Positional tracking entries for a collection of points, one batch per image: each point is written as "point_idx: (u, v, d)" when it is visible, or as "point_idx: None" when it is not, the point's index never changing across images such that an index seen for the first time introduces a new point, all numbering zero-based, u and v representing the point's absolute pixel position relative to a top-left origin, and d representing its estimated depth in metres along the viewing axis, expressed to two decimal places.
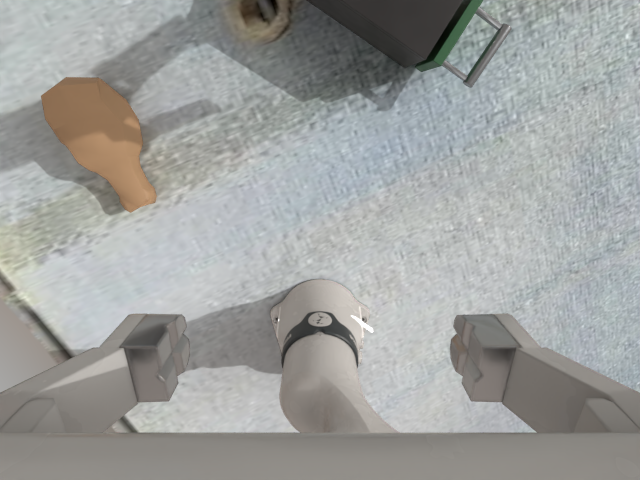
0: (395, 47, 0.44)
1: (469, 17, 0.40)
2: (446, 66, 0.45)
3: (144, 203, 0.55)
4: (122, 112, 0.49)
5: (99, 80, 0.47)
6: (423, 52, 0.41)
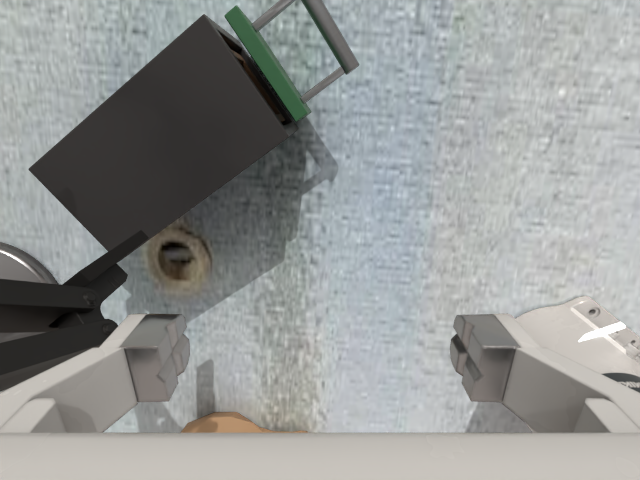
0: None
1: (261, 49, 0.26)
2: (314, 94, 0.30)
3: None
4: (217, 432, 0.47)
5: (183, 432, 0.47)
6: (278, 136, 0.28)
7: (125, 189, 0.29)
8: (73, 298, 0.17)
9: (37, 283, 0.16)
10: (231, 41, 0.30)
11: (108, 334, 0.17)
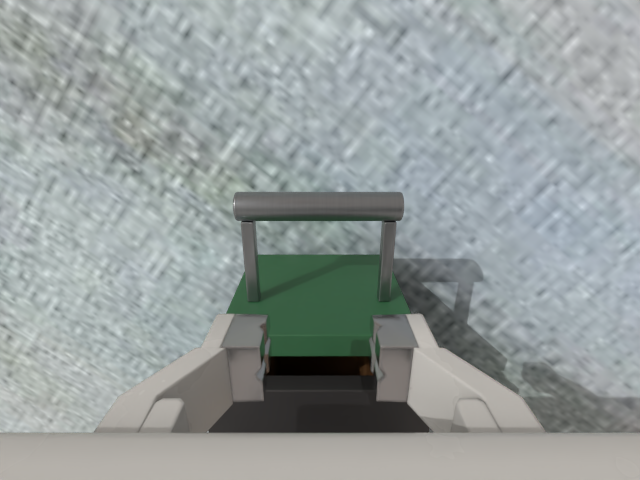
0: None
1: (291, 340, 0.15)
2: (389, 280, 0.17)
3: None
4: None
5: None
6: None
7: None
8: None
9: None
10: None
11: None
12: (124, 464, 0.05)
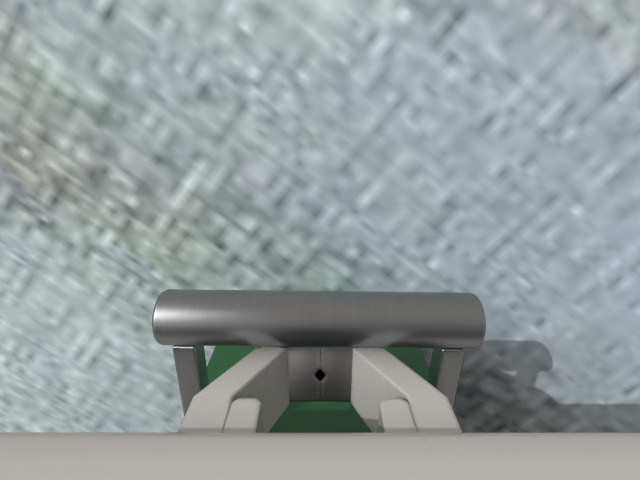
0: None
1: None
2: None
3: None
4: None
5: None
6: None
7: None
8: None
9: None
10: None
11: None
12: (124, 464, 0.05)
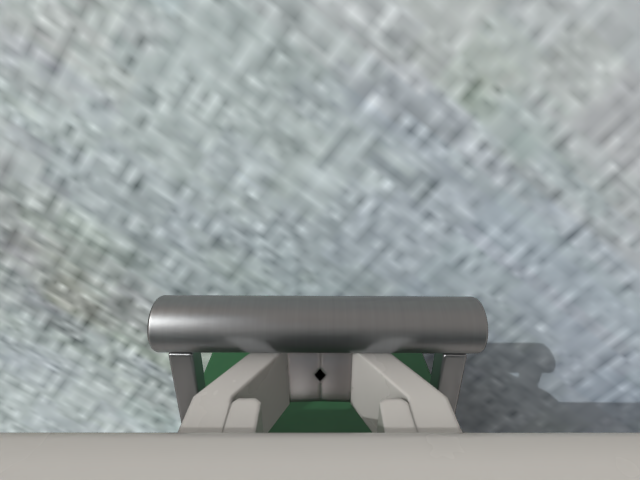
0: None
1: None
2: None
3: None
4: None
5: None
6: None
7: None
8: None
9: None
10: None
11: None
12: (124, 464, 0.05)
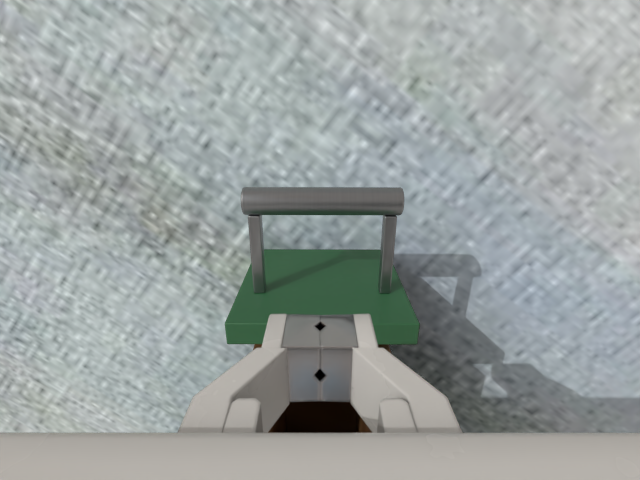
0: None
1: None
2: (390, 273, 0.18)
3: None
4: None
5: None
6: None
7: None
8: None
9: None
10: None
11: None
12: (124, 464, 0.05)
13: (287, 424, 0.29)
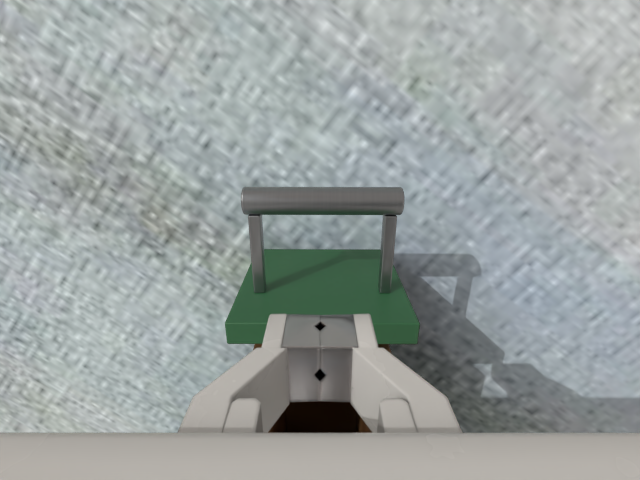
0: None
1: None
2: (390, 272, 0.18)
3: None
4: None
5: None
6: None
7: None
8: None
9: None
10: None
11: None
12: (124, 464, 0.05)
13: (287, 424, 0.29)
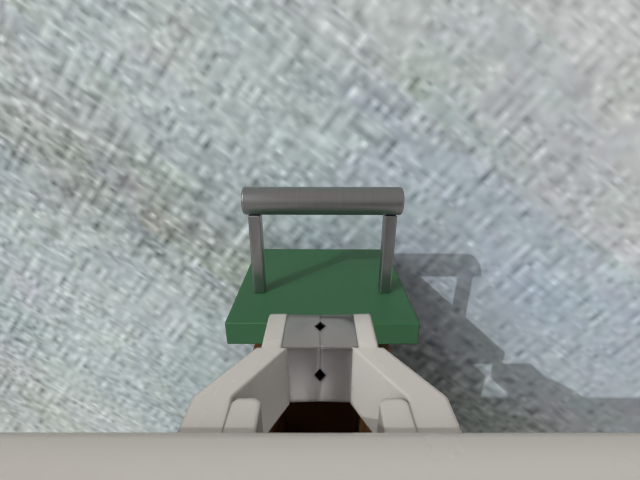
0: None
1: None
2: (390, 272, 0.18)
3: None
4: None
5: None
6: None
7: None
8: None
9: None
10: None
11: None
12: (124, 464, 0.05)
13: (287, 424, 0.29)
